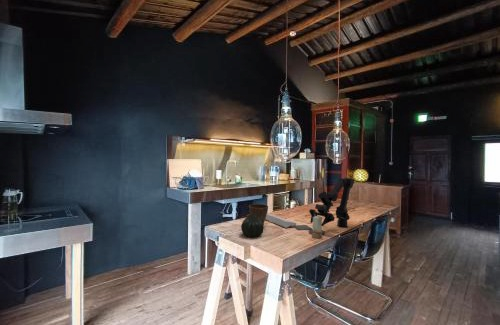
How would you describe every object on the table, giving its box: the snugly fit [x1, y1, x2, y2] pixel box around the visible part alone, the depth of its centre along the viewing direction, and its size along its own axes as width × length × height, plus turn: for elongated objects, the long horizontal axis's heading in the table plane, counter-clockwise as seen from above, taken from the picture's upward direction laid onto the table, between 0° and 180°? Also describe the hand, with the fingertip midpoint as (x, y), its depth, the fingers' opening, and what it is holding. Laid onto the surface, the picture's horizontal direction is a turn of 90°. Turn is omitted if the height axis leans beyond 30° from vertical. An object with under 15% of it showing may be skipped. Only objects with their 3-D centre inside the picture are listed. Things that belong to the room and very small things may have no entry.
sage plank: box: [312, 215, 323, 231], centre depth 177 cm, size 5×4×12 cm
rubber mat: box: [293, 224, 313, 231], centre depth 190 cm, size 11×10×1 cm
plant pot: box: [248, 203, 269, 225], centre depth 190 cm, size 15×15×16 cm
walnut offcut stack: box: [311, 230, 323, 240], centre depth 168 cm, size 5×5×4 cm
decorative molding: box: [265, 213, 297, 229], centre depth 204 cm, size 34×5×10 cm
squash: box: [240, 213, 264, 238], centre depth 169 cm, size 14×15×15 cm
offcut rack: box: [308, 229, 326, 236], centre depth 177 cm, size 9×8×2 cm
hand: (316, 224), depth 176 cm, fingers open, 9 cm apart
